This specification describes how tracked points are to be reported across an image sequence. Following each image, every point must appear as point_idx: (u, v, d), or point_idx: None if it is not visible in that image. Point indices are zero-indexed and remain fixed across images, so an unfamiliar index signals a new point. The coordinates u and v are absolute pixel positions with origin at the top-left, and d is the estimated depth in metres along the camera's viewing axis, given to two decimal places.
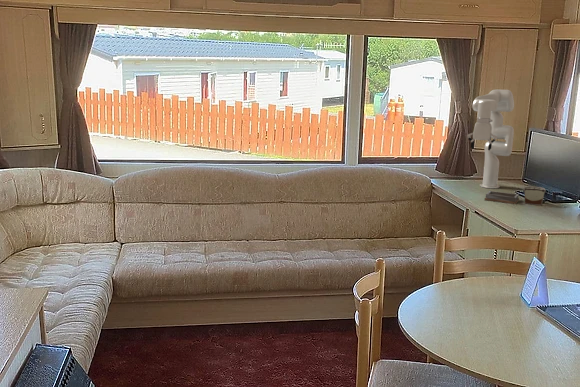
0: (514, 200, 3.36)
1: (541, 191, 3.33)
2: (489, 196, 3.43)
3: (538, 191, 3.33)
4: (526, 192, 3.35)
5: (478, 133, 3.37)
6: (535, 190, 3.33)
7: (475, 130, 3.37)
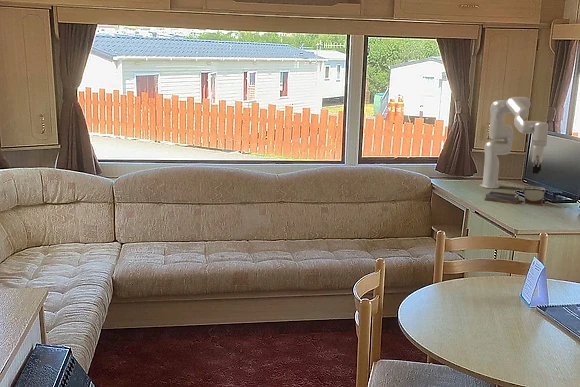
0: (514, 200, 3.36)
1: (541, 191, 3.33)
2: (489, 196, 3.43)
3: (538, 191, 3.33)
4: (526, 192, 3.35)
5: (542, 157, 3.29)
6: (535, 190, 3.33)
7: (541, 154, 3.27)
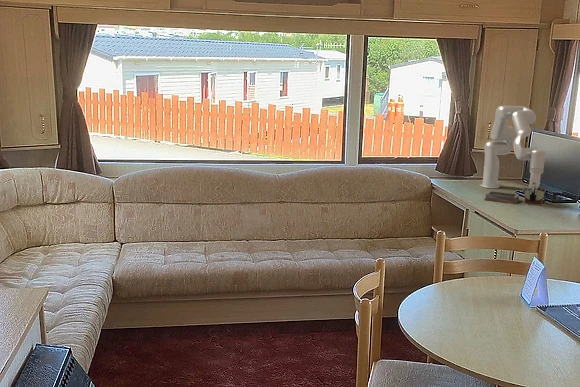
0: (514, 200, 3.36)
1: (541, 191, 3.33)
2: (489, 196, 3.43)
3: (538, 191, 3.33)
4: (526, 192, 3.35)
5: (539, 183, 3.33)
6: None
7: (538, 181, 3.31)
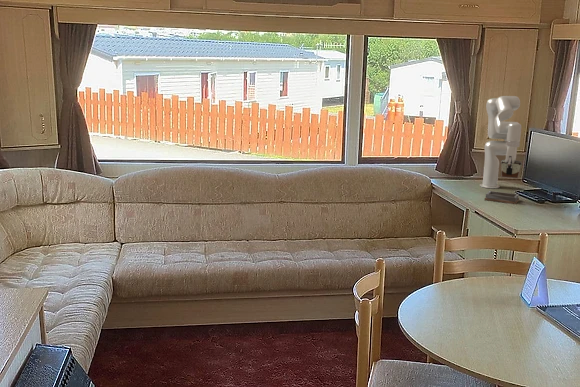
0: (514, 200, 3.36)
1: (517, 164, 3.36)
2: (489, 196, 3.43)
3: (514, 164, 3.37)
4: (503, 165, 3.39)
5: (515, 157, 3.36)
6: None
7: (514, 154, 3.34)
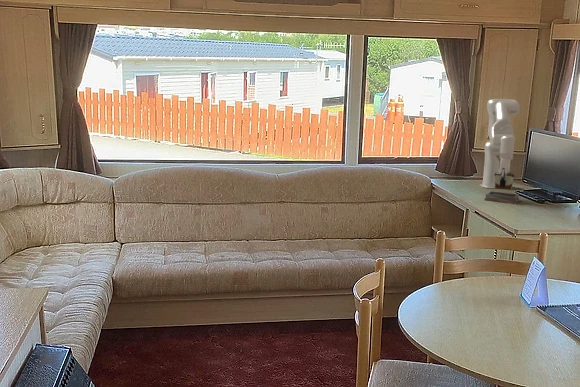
0: (514, 200, 3.36)
1: (511, 176, 3.39)
2: (489, 196, 3.43)
3: (508, 176, 3.39)
4: (496, 177, 3.42)
5: (508, 169, 3.39)
6: None
7: (508, 166, 3.36)
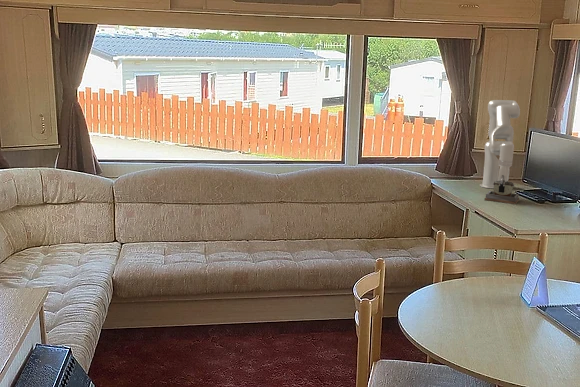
0: (514, 200, 3.36)
1: (510, 186, 3.41)
2: (489, 196, 3.43)
3: (507, 186, 3.41)
4: (495, 186, 3.44)
5: (507, 176, 3.40)
6: (504, 185, 3.42)
7: (507, 174, 3.38)
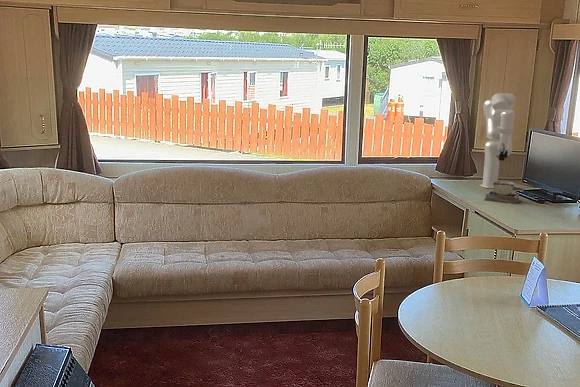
0: (514, 200, 3.36)
1: (510, 186, 3.41)
2: (489, 196, 3.43)
3: (507, 186, 3.41)
4: (495, 186, 3.44)
5: (508, 144, 3.44)
6: (504, 185, 3.42)
7: (507, 142, 3.41)
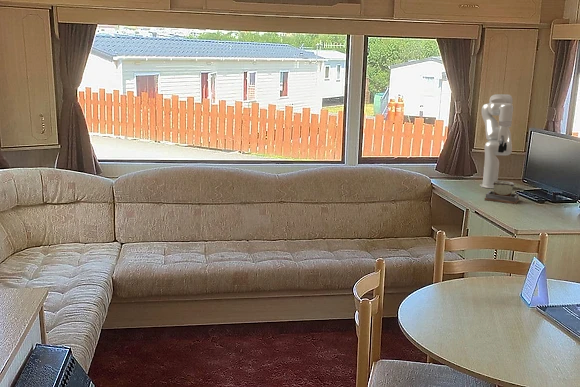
0: (514, 200, 3.36)
1: (510, 186, 3.41)
2: (489, 196, 3.43)
3: (507, 186, 3.41)
4: (495, 186, 3.44)
5: (507, 136, 3.48)
6: (504, 185, 3.42)
7: (506, 134, 3.45)
